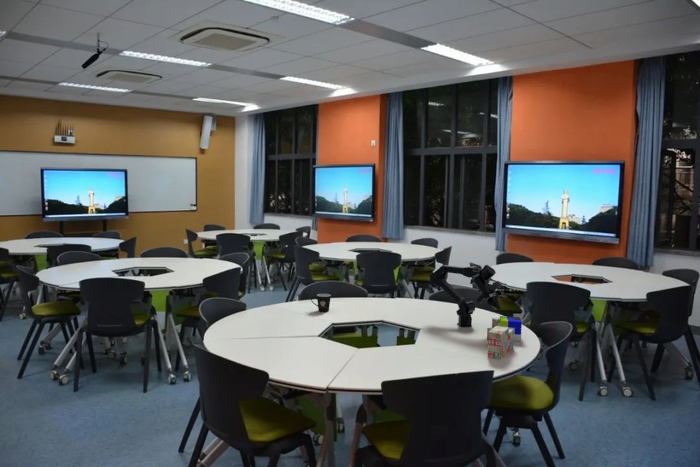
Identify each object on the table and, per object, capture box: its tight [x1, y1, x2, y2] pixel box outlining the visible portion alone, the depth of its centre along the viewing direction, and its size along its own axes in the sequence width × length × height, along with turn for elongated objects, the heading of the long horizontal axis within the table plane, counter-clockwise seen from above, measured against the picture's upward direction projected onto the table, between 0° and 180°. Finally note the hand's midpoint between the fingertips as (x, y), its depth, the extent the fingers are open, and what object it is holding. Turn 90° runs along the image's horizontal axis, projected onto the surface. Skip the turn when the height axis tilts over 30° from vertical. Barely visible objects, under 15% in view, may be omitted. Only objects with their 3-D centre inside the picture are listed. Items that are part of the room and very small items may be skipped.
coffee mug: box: [310, 293, 332, 313], centre depth 327 cm, size 12×9×10 cm
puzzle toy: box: [499, 315, 523, 342], centre depth 274 cm, size 10×10×10 cm
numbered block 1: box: [491, 317, 500, 328], centre depth 289 cm, size 5×5×6 cm
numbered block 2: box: [486, 327, 493, 341], centre depth 268 cm, size 5×5×6 cm
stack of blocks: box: [487, 326, 514, 360], centre depth 249 cm, size 21×6×12 cm, turn 148°
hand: (499, 309), depth 280 cm, fingers closed
